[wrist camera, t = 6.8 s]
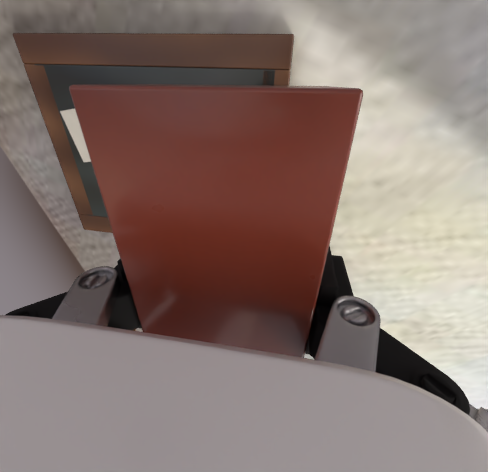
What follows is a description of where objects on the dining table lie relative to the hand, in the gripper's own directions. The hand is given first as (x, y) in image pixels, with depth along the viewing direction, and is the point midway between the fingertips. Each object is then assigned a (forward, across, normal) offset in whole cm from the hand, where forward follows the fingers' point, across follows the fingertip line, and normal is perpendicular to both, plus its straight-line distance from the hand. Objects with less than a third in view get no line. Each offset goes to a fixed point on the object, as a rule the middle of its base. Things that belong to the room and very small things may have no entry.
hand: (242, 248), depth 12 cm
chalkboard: (+13, +10, -1) cm, 17 cm away
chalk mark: (+12, +17, -2) cm, 21 cm away
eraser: (0, 0, 0) cm, 0 cm away
